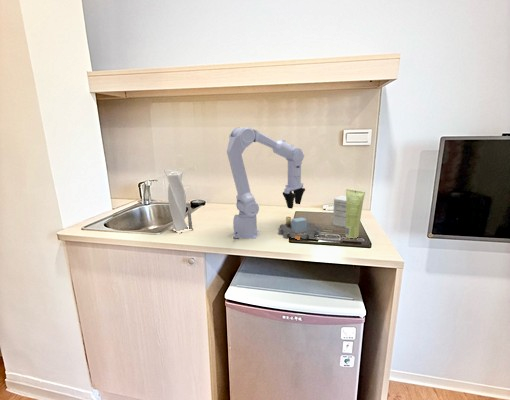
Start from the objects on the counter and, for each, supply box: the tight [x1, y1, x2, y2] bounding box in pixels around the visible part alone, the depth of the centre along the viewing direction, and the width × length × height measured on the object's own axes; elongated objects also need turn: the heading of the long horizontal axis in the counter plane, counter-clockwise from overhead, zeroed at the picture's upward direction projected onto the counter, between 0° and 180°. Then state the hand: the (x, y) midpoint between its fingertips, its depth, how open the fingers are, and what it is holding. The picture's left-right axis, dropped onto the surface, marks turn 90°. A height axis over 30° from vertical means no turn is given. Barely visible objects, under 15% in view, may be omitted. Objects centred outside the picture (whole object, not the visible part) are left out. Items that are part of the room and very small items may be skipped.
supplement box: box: [332, 195, 346, 228], centre depth 124 cm, size 7×7×13 cm
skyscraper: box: [164, 169, 194, 231], centre depth 122 cm, size 8×8×28 cm
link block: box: [291, 217, 308, 234], centre depth 112 cm, size 5×4×5 cm
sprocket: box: [277, 216, 322, 241], centre depth 117 cm, size 18×18×6 cm
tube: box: [344, 188, 366, 239], centre depth 109 cm, size 6×5×20 cm
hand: (294, 205), depth 124 cm, fingers open, 7 cm apart
